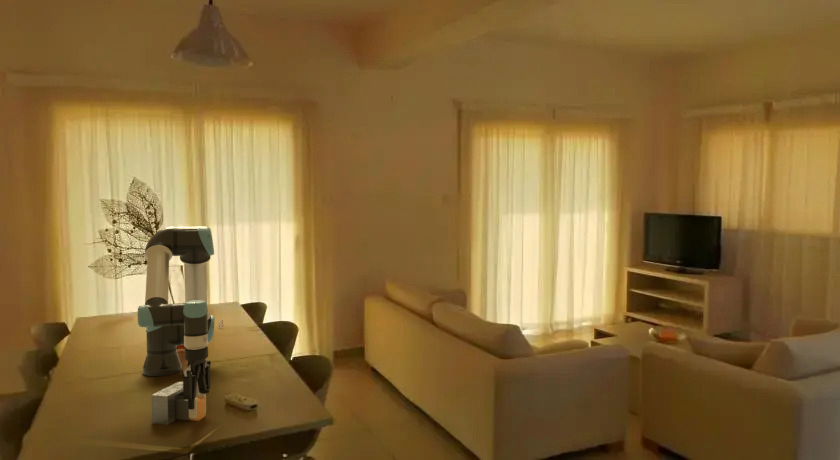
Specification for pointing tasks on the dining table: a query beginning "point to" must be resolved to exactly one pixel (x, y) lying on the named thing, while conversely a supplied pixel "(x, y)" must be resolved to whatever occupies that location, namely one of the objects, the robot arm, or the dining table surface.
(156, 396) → the block
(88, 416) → the dining table surface
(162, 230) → the robot arm
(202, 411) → the plug
